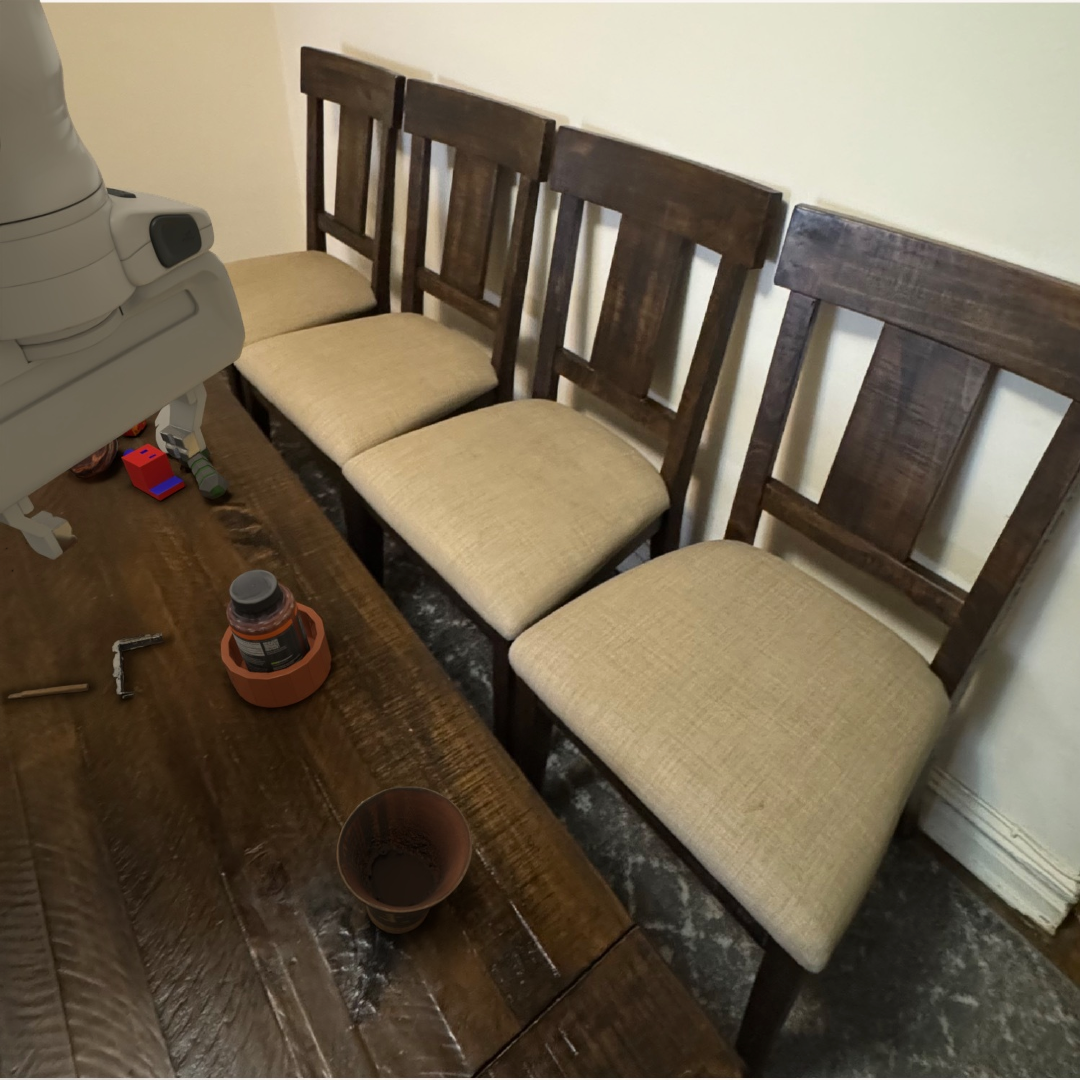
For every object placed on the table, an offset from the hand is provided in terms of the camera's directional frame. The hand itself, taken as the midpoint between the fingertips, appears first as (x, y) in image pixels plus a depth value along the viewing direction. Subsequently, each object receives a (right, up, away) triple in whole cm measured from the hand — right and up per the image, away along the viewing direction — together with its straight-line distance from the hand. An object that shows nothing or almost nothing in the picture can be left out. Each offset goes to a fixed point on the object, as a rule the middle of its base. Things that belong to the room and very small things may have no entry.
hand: (127, 497), depth 43 cm
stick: (-21, -18, +25) cm, 37 cm away
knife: (-21, +8, +52) cm, 57 cm away
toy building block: (-21, +5, +46) cm, 51 cm away
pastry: (-32, +9, +48) cm, 58 cm away
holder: (-1, -15, +29) cm, 33 cm away
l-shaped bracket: (-13, -15, +28) cm, 34 cm away
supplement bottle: (-1, -15, +29) cm, 33 cm away
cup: (+14, -30, +14) cm, 36 cm away
